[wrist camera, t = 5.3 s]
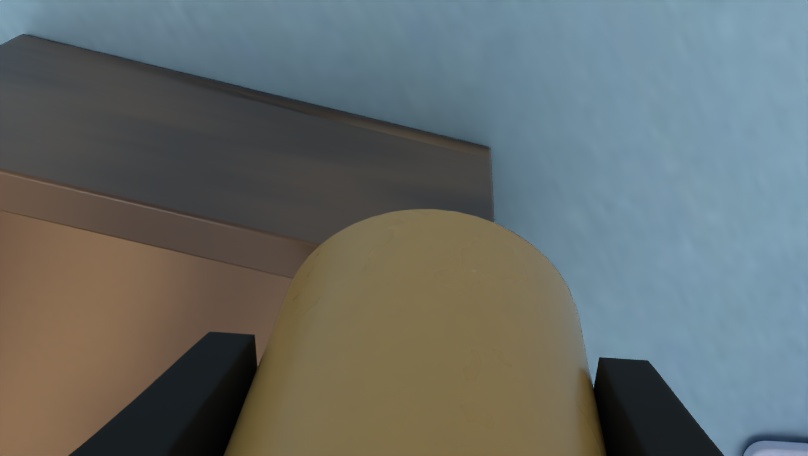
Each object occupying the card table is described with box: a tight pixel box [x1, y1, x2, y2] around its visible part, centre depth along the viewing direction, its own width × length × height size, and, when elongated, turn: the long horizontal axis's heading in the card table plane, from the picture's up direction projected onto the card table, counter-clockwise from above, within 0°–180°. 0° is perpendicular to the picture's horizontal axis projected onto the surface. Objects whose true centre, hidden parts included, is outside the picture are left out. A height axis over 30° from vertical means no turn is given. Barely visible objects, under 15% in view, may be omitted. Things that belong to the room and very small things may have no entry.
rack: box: [0, 34, 494, 456], centre depth 19 cm, size 11×15×6 cm
